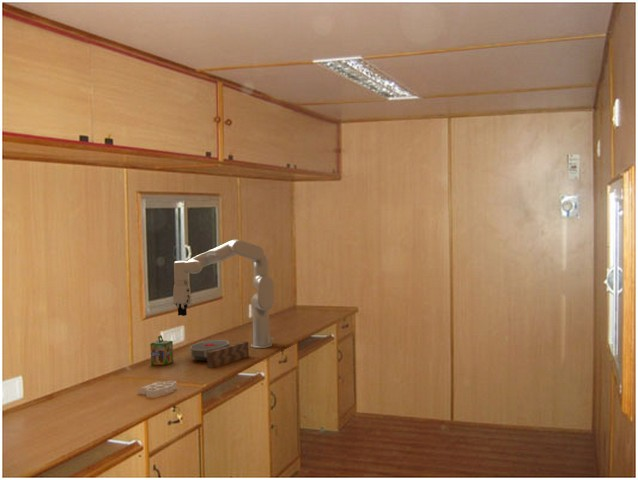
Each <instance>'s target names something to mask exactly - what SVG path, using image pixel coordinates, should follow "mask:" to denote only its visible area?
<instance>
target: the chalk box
mask: <svg viewBox="0 0 638 480" xmlns="http://www.w3.org/2000/svg"><path fill="white" fill-rule="evenodd" d="M157 339H158V340H156V341H153V342H151V343H150V344H149V345H150V365H151V366H168V365H169V364H172V363H174V344H173V343H174V342H173V341H172V340H164V338H163V335H161V334H160V335H159V336H158V337H157Z"/></svg>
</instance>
